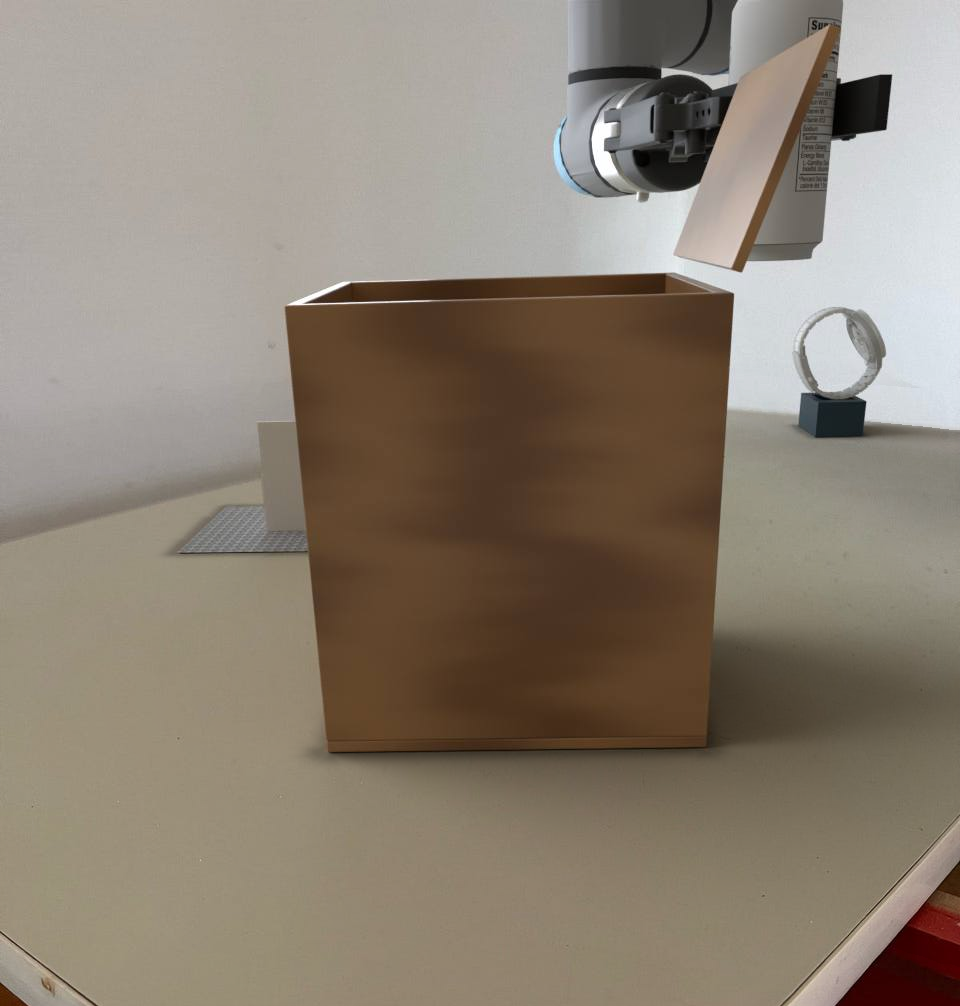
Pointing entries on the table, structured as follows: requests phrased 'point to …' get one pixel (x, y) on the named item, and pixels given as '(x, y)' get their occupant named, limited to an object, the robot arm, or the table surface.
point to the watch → (843, 408)
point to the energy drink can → (803, 185)
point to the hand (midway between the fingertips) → (827, 103)
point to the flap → (753, 153)
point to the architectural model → (282, 508)
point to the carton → (513, 507)
